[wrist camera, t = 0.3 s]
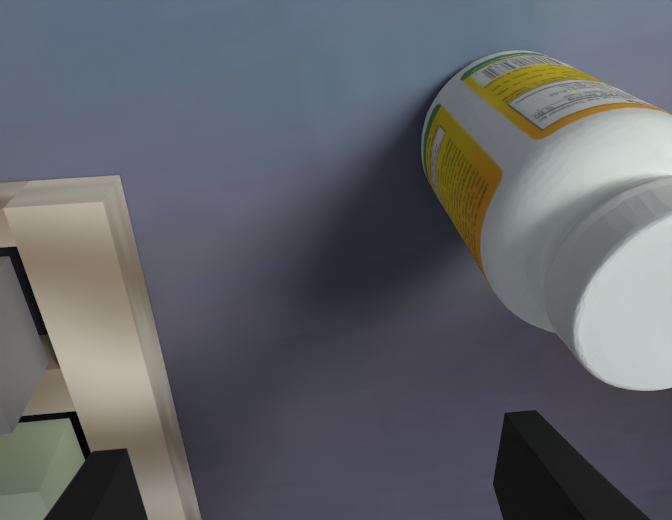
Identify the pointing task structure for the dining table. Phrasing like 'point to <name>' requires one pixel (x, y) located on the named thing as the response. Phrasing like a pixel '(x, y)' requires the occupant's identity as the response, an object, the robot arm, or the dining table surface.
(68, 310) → the key console
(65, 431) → the key sage
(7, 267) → the key charcoal
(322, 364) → the dining table surface
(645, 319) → the supplement bottle
